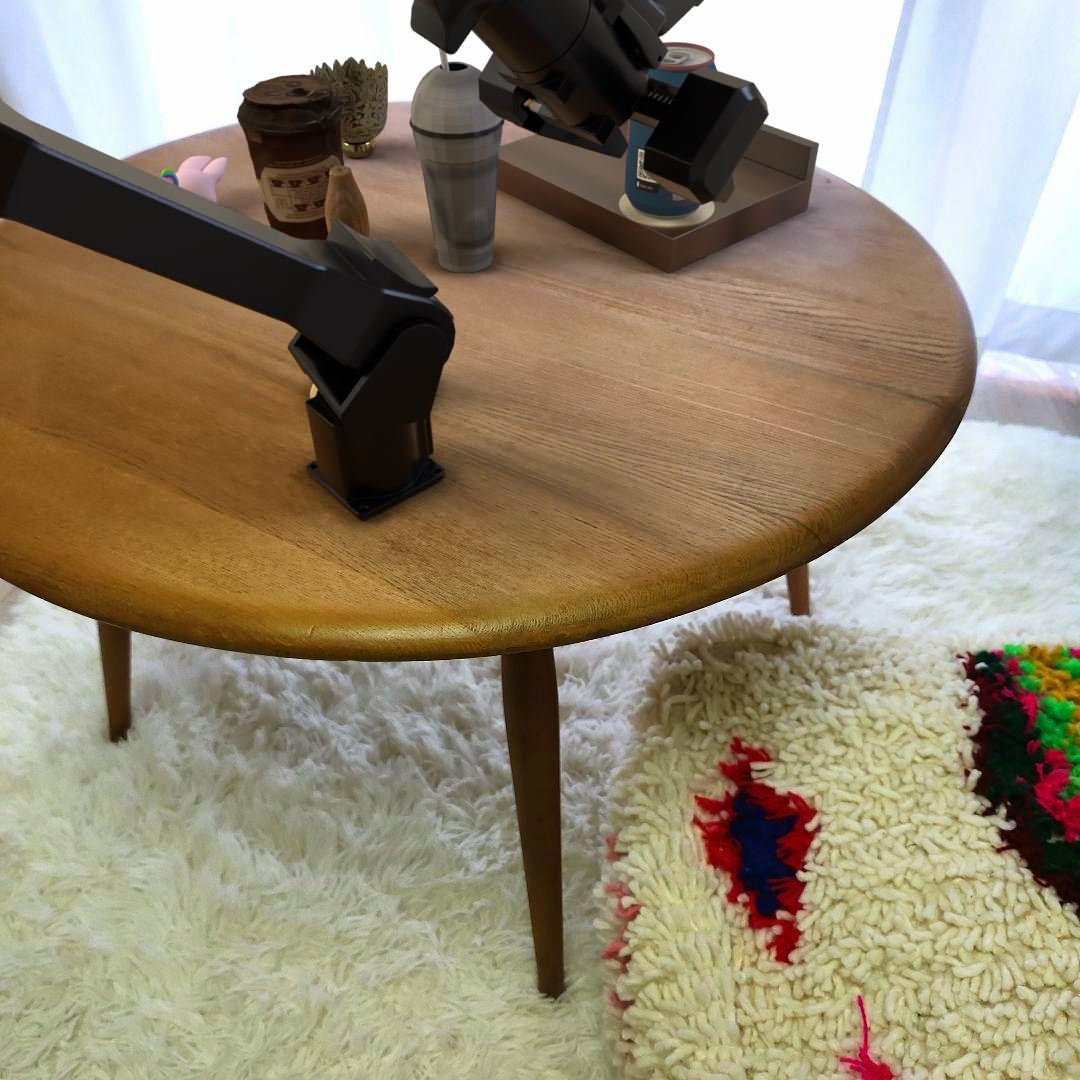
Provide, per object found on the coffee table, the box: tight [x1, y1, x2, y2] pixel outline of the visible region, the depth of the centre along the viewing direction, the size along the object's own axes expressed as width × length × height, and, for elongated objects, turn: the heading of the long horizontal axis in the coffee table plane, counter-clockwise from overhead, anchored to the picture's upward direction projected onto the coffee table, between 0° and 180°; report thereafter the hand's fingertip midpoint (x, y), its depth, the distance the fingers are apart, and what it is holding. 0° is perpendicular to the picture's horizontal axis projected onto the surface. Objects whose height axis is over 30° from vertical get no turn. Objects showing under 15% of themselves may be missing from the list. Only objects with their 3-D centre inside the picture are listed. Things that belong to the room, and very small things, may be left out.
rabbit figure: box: [160, 155, 228, 204], centre depth 89 cm, size 6×6×15 cm
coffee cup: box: [236, 73, 345, 240], centre depth 84 cm, size 9×8×13 cm
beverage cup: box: [408, 48, 506, 274], centre depth 79 cm, size 7×7×20 cm
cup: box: [308, 56, 389, 159], centre depth 100 cm, size 8×7×8 cm
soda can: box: [625, 41, 718, 219], centre depth 82 cm, size 7×7×12 cm
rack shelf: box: [497, 120, 820, 274], centre depth 93 cm, size 18×24×6 cm
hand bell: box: [309, 165, 370, 399], centre depth 66 cm, size 8×8×16 cm
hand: (673, 172), depth 66 cm, fingers open, 9 cm apart
